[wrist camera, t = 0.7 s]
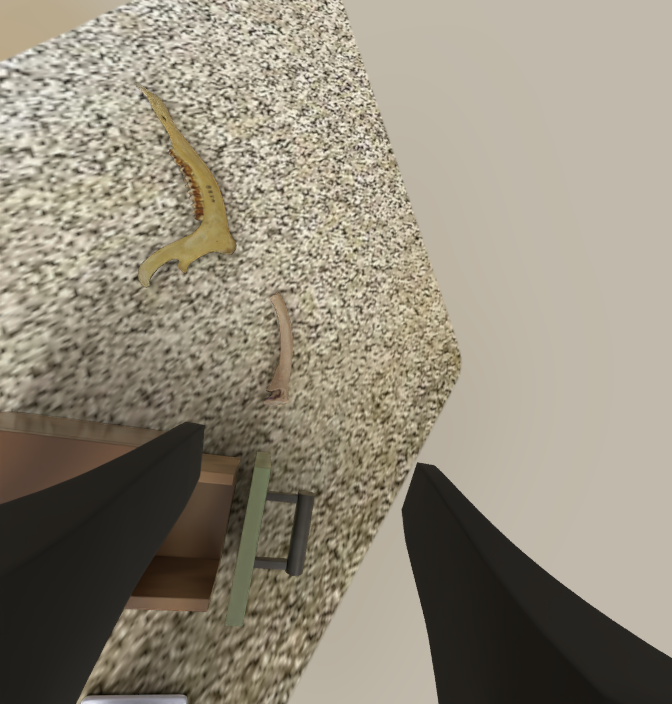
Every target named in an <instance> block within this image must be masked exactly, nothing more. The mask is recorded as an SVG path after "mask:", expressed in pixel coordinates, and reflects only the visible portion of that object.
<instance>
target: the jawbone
mask: <svg viewBox="0 0 672 704" xmlns="http://www.w3.org/2000/svg"><path fill="white" fill-rule="evenodd" d="M134 84H136V83H134ZM136 87H137V88H138V89H139V90H141V91H142V92H143V94H144V95H146V96H147V98H148V100H149V102H150V103H151V106H152V108H153V110H154V112H155V114H156V116H157V117H158V118H159V119H160V121H161V122H162V124H163V125H164V127H165V128H166V130H167V132H168V134H169V136H170V139H171V141H172V142H173V145H172V147H173V149H169V154H170V155H171V156H172V157H173V158H174V162H175V163H176V164H177V165H178V166H179V167H180V170H179V171H180V172H181V173H182V174H183V175H184V176H185V177H184V179H183V181H185V182H186V183H187V184H186V185H185V187H187V188H188V189H190V190H188V193H189V194H190V195H191V197H189V199H190V200H192V201H193V204H191V207H192V208H193V209H194V210H193V211H192V213H193V214H194V215H195V219H196V220H201V221H202V223H201V225H200V226H199V228H198V229H197V230H196V231H195V232H193V233H192V234H190V235H188V236H186V237H184V238H182V239H179V240H177V241H175V242H173V243H171V244H169V245H167V246H165V247H163V248H161V249H160V250H158V251H156V252H155V253H154V254H152V255H151V256H150V257H149V258H148V259H147V260H145V261H144V262H143V263H142V264H141V265H140V266H139V270H138V276H139V281H140V282H141V284H142V285H143V286H144V287H150V279H151V277H152V276H153V274H154V273H155V272H156V271H157V269H158V268H160V267H161V266H162V265H164V264H165V263H167V262H168V261H170V260H172V259H178V260H179V264H177V266H178V268H179V269H180V270H181V271H182V272H184V273H186V271H187V267H188V266H189V264H190V263H191V262H193V261H194V260H196V259H197V258H199V257H201V256H202V255H206V254H208V253H210V252H213V251H216V252H218V253H220V254H230V255H231V254H232V253H233V252H234V251H235V250H236V246H237V245H236V242H235V240H234V239H233V238H232V236H231V235H230V232H229V228H228V224H227V218H226V209H225V205H224V201H223V198H222V195H221V192H220V189H219V187H218V184H217V182H216V180H215V178H214V176H213V175H212V173H211V171H210V170H209V169H208V167H207V166H206V164H205V163H204V162H203V160H202V159H201V158H200V156H199V155H198V154H197V153H196V151H195V150H194V149H193V148H192V147H191V145H190V144H189V143H188V142H187V140H186V139H185V138H184V137H183V135H182V134H181V132H180V131H179V130H178V128H177V127H176V125H175V124H174V122H173V120H172V119H171V117H170V115H169V112H168V110H167V108H166V106H165V105H164V103H163V102H162V100H161V99H160V98H159V97H158V96H156V95H155V94H153V93H151V92H150V91H148V90H147V89H146V88H144V87H143V86H141V85H140V84H136Z"/></svg>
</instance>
